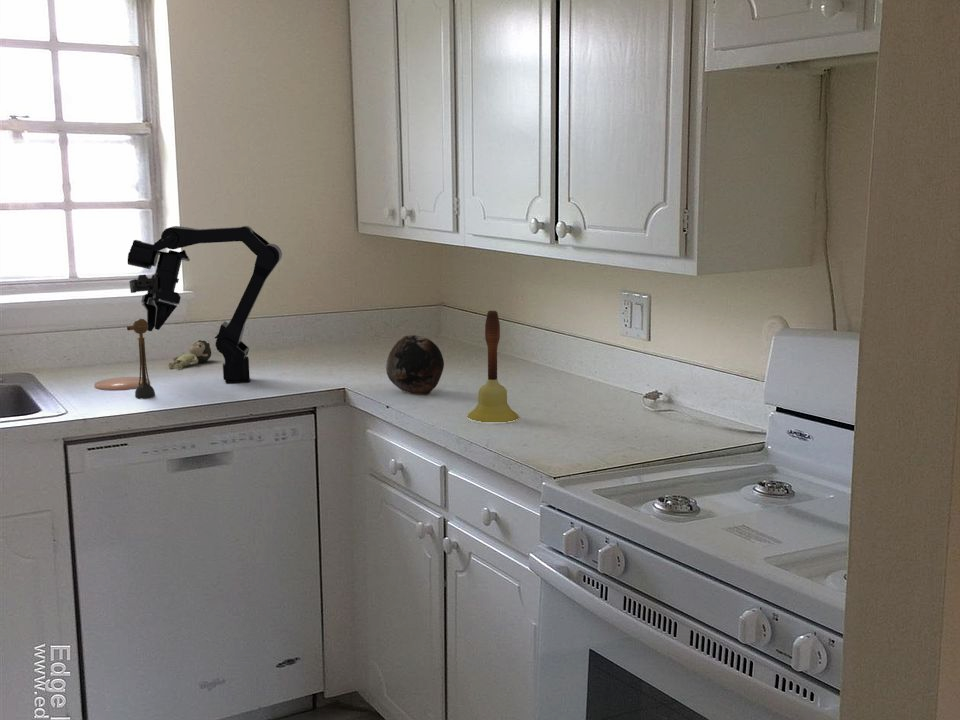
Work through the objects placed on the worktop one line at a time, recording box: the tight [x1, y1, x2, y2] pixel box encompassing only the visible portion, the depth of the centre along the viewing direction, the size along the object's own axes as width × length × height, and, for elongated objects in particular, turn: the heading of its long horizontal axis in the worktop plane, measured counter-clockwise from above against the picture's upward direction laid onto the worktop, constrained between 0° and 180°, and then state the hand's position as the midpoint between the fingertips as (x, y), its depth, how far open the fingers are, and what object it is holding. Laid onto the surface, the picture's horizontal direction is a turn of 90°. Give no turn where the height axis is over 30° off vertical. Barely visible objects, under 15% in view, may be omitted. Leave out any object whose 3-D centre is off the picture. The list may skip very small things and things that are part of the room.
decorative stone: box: [385, 334, 445, 395], centre depth 265 cm, size 18×9×15 cm, turn 53°
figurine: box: [167, 339, 212, 370], centre depth 303 cm, size 8×6×15 cm
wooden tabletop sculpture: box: [126, 318, 156, 399], centre depth 261 cm, size 6×5×20 cm
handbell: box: [466, 310, 520, 422], centre depth 237 cm, size 12×12×25 cm
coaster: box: [94, 376, 150, 391], centre depth 277 cm, size 14×14×1 cm
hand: (153, 330), depth 271 cm, fingers open, 9 cm apart
